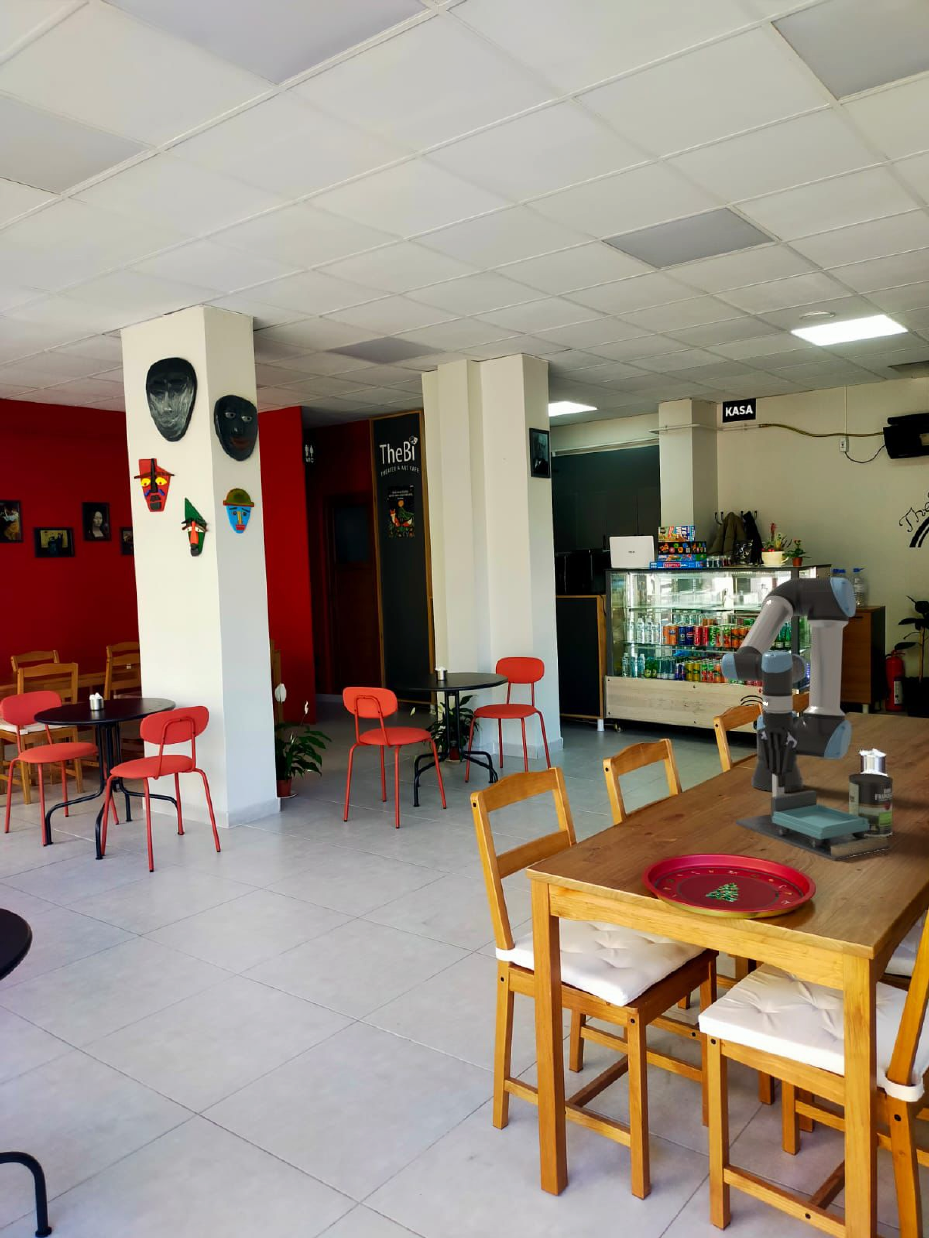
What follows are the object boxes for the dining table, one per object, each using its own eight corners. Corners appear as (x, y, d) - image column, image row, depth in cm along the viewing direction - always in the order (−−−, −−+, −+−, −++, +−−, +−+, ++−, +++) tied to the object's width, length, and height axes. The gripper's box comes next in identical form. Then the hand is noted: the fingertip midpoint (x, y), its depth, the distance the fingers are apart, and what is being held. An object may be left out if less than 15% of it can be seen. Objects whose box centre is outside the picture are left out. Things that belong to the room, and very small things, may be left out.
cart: (767, 830, 229) (767, 797, 228) (815, 821, 235) (814, 789, 234) (820, 849, 213) (820, 814, 212) (869, 839, 219) (869, 805, 218)
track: (735, 823, 239) (735, 813, 238) (786, 814, 246) (786, 804, 246) (834, 860, 207) (834, 849, 207) (890, 848, 215) (890, 837, 214)
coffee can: (901, 833, 226) (901, 778, 225) (874, 840, 221) (874, 784, 221) (866, 823, 235) (866, 770, 234) (839, 829, 231) (839, 776, 230)
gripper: (749, 708, 239) (750, 794, 241) (784, 715, 227) (785, 806, 229) (770, 705, 242) (771, 790, 244) (807, 712, 230) (807, 801, 232)
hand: (778, 798), depth 236 cm, fingers closed
